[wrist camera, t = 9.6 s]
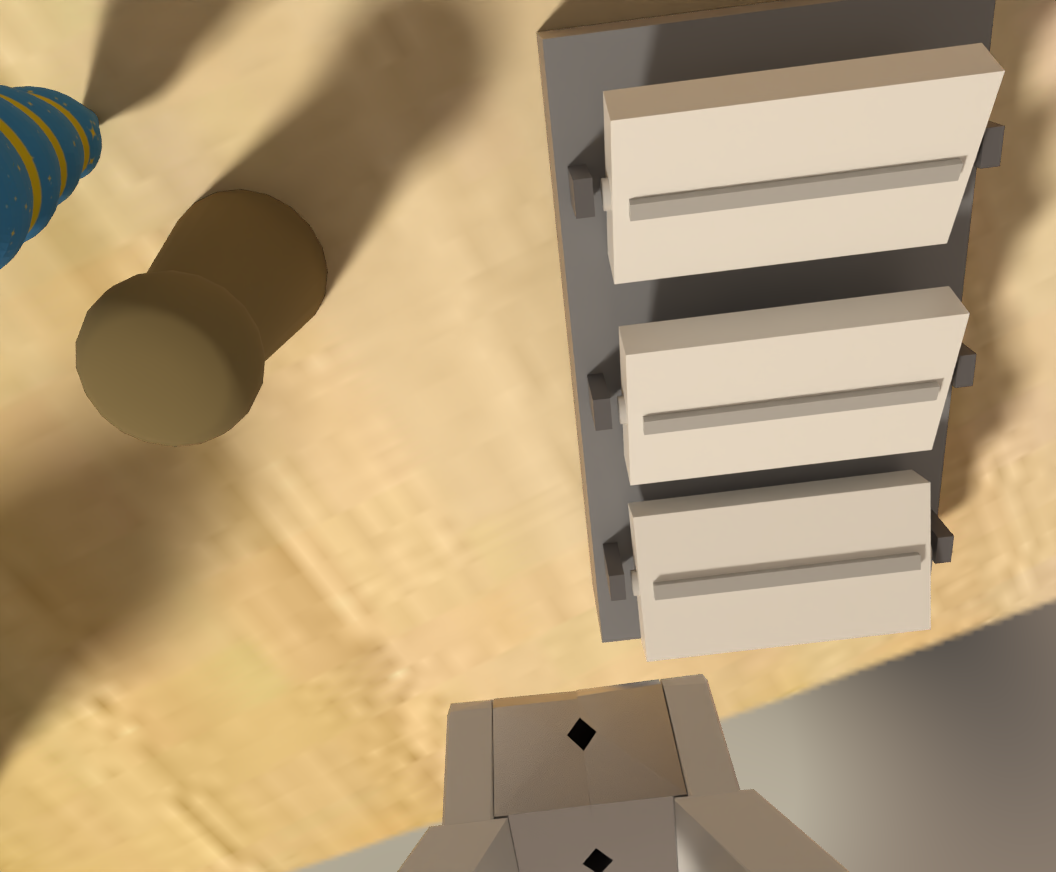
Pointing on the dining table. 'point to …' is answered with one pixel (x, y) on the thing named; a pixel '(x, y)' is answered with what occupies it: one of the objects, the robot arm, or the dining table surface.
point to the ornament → (40, 159)
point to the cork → (202, 320)
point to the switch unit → (601, 306)
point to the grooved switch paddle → (782, 565)
